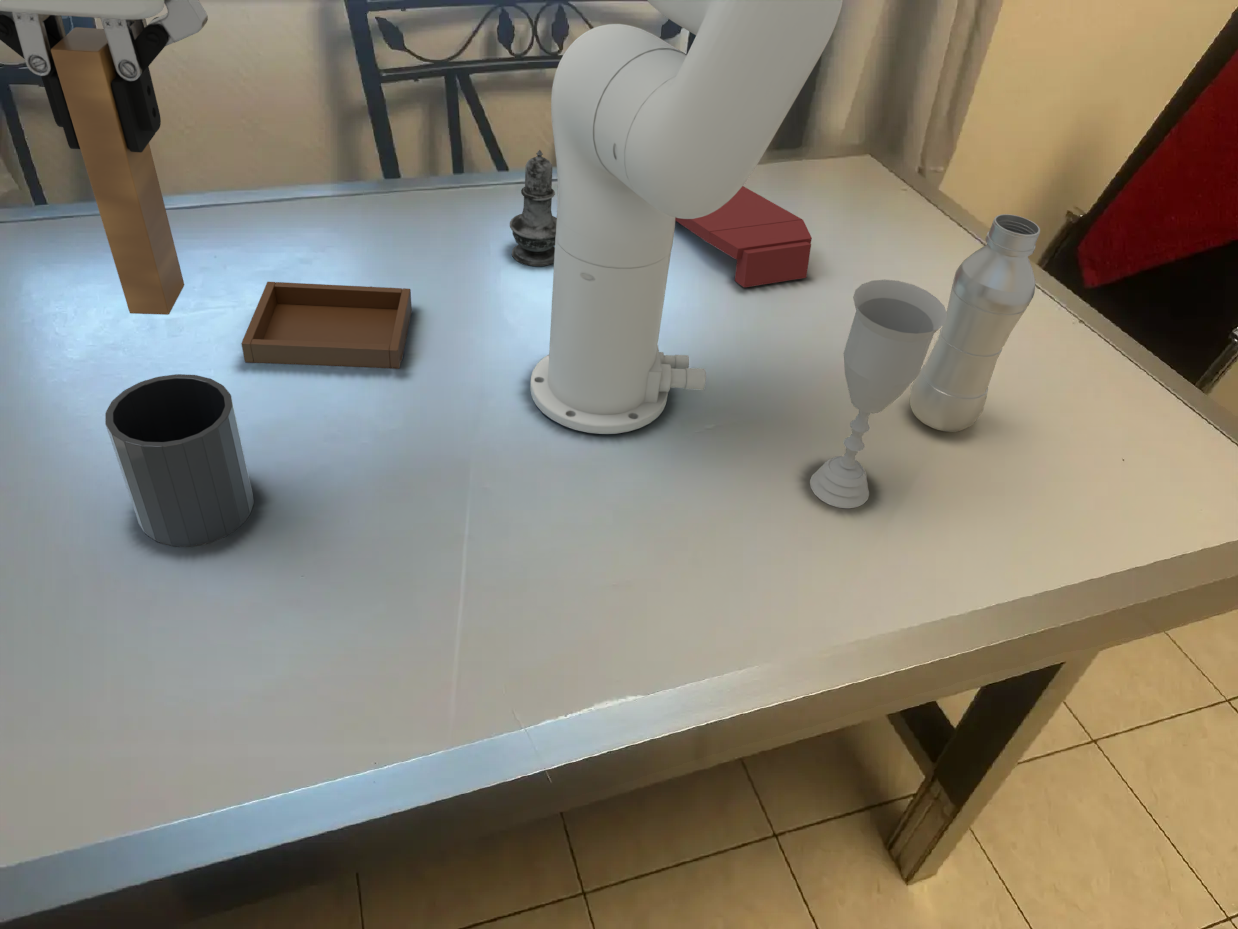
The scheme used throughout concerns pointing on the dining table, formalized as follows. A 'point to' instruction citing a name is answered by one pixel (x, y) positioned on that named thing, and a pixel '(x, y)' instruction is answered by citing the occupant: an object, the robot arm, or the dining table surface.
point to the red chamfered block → (756, 238)
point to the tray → (329, 325)
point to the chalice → (878, 372)
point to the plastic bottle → (977, 326)
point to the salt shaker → (535, 216)
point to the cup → (181, 458)
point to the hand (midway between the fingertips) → (113, 138)
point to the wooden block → (119, 176)
